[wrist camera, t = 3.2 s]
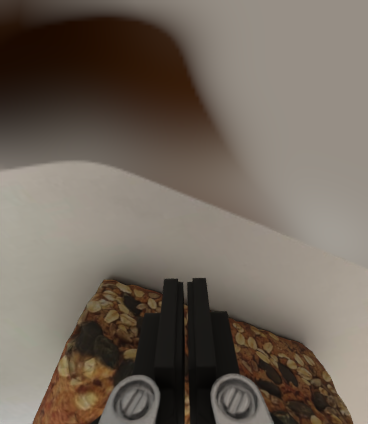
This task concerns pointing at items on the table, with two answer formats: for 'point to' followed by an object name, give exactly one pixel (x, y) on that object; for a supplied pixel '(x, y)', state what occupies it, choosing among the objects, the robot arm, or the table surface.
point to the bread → (126, 352)
